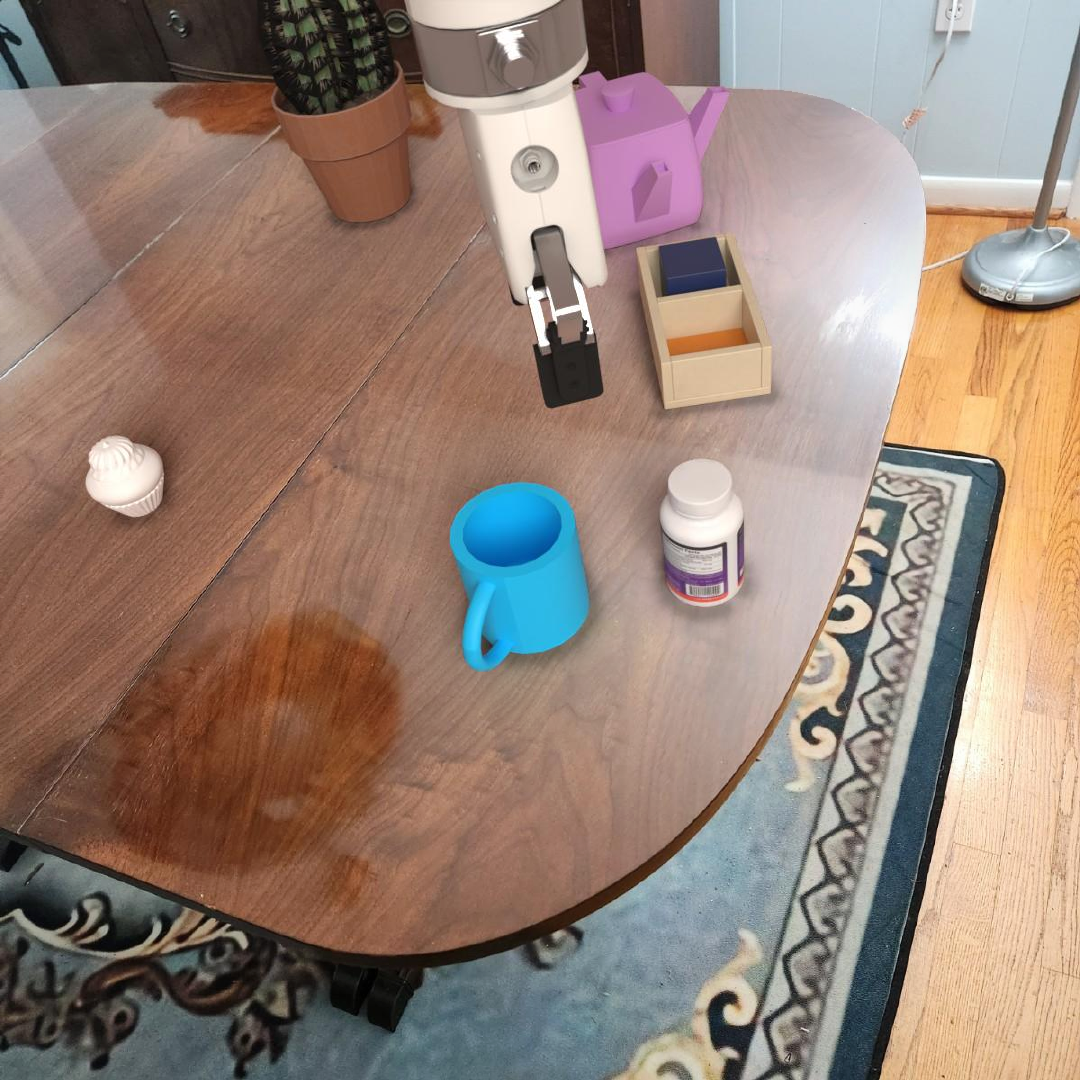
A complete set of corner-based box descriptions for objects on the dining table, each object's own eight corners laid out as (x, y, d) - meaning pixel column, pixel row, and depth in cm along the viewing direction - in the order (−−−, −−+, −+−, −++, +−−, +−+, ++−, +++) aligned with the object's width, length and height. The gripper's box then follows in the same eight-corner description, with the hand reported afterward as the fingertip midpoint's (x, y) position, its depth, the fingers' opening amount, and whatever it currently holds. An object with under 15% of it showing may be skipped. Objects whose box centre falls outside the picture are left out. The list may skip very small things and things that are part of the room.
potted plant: (415, 233, 105) (344, -22, 87) (295, 238, 108) (202, -8, 90) (445, 165, 114) (386, -80, 95) (333, 172, 117) (255, -65, 98)
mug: (504, 549, 74) (483, 471, 68) (607, 575, 71) (595, 496, 65) (428, 680, 67) (397, 606, 61) (538, 715, 64) (516, 641, 58)
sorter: (733, 278, 92) (733, 231, 88) (771, 394, 81) (772, 346, 77) (639, 293, 92) (635, 247, 89) (664, 410, 81) (661, 363, 78)
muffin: (104, 493, 85) (63, 432, 80) (175, 467, 86) (138, 406, 81) (110, 541, 81) (66, 481, 76) (183, 514, 82) (146, 452, 77)
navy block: (717, 285, 90) (716, 236, 86) (727, 318, 87) (726, 268, 83) (661, 293, 90) (658, 245, 87) (669, 327, 87) (666, 278, 83)
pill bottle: (700, 536, 72) (696, 437, 65) (760, 574, 69) (762, 475, 62) (649, 581, 70) (638, 484, 63) (707, 622, 67) (703, 525, 60)
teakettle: (590, 155, 110) (576, 40, 101) (738, 172, 103) (737, 50, 94) (517, 240, 101) (494, 122, 92) (673, 266, 94) (666, 141, 85)
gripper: (632, 99, 39) (661, 427, 51) (544, -47, 50) (585, 250, 63) (443, 146, 39) (519, 463, 51) (398, -11, 50) (469, 280, 63)
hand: (555, 346), depth 57 cm, fingers open, 9 cm apart
